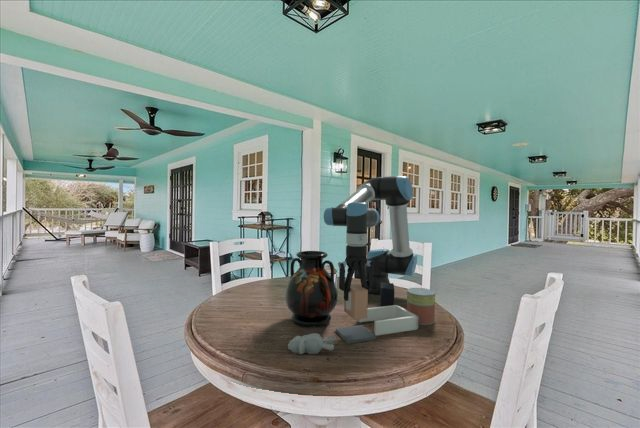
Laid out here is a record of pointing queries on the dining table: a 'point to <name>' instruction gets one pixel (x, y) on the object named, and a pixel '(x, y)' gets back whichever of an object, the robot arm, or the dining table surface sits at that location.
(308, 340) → the bunny figurine
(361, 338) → the slate mat
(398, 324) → the slot rack
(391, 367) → the dining table surface
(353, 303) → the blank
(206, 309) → the dining table surface
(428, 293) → the canned food
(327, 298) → the amphora vase
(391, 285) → the small box
